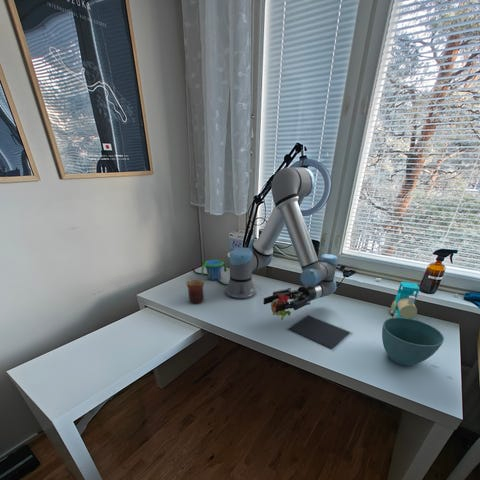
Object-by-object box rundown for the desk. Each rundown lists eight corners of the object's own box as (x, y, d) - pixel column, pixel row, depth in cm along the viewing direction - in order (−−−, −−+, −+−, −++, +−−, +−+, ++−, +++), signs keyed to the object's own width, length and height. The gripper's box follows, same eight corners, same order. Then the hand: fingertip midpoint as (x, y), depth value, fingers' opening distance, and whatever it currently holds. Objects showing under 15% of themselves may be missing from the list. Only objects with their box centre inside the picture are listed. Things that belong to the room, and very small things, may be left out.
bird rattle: (269, 321, 115) (287, 321, 108) (263, 297, 112) (280, 295, 106) (277, 316, 119) (295, 315, 112) (271, 292, 116) (288, 290, 110)
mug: (203, 305, 132) (202, 286, 127) (186, 304, 132) (184, 285, 127) (207, 295, 142) (206, 276, 137) (190, 294, 142) (189, 276, 137)
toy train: (393, 326, 117) (405, 295, 109) (389, 310, 130) (399, 281, 123) (414, 330, 114) (427, 298, 107) (407, 312, 128) (418, 283, 120)
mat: (288, 329, 114) (288, 328, 114) (308, 316, 124) (308, 315, 124) (331, 349, 102) (331, 348, 102) (349, 332, 112) (349, 332, 112)
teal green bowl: (369, 362, 95) (379, 333, 89) (378, 338, 108) (387, 312, 102) (428, 382, 87) (444, 352, 81) (430, 354, 100) (444, 326, 94)
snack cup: (204, 283, 156) (203, 266, 151) (199, 277, 165) (198, 261, 159) (229, 279, 161) (229, 263, 156) (223, 273, 170) (223, 258, 164)
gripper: (324, 308, 116) (285, 323, 104) (292, 292, 130) (255, 303, 119) (328, 293, 112) (287, 306, 101) (294, 277, 126) (255, 288, 115)
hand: (270, 305), depth 110 cm, fingers closed on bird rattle, 7 cm apart
